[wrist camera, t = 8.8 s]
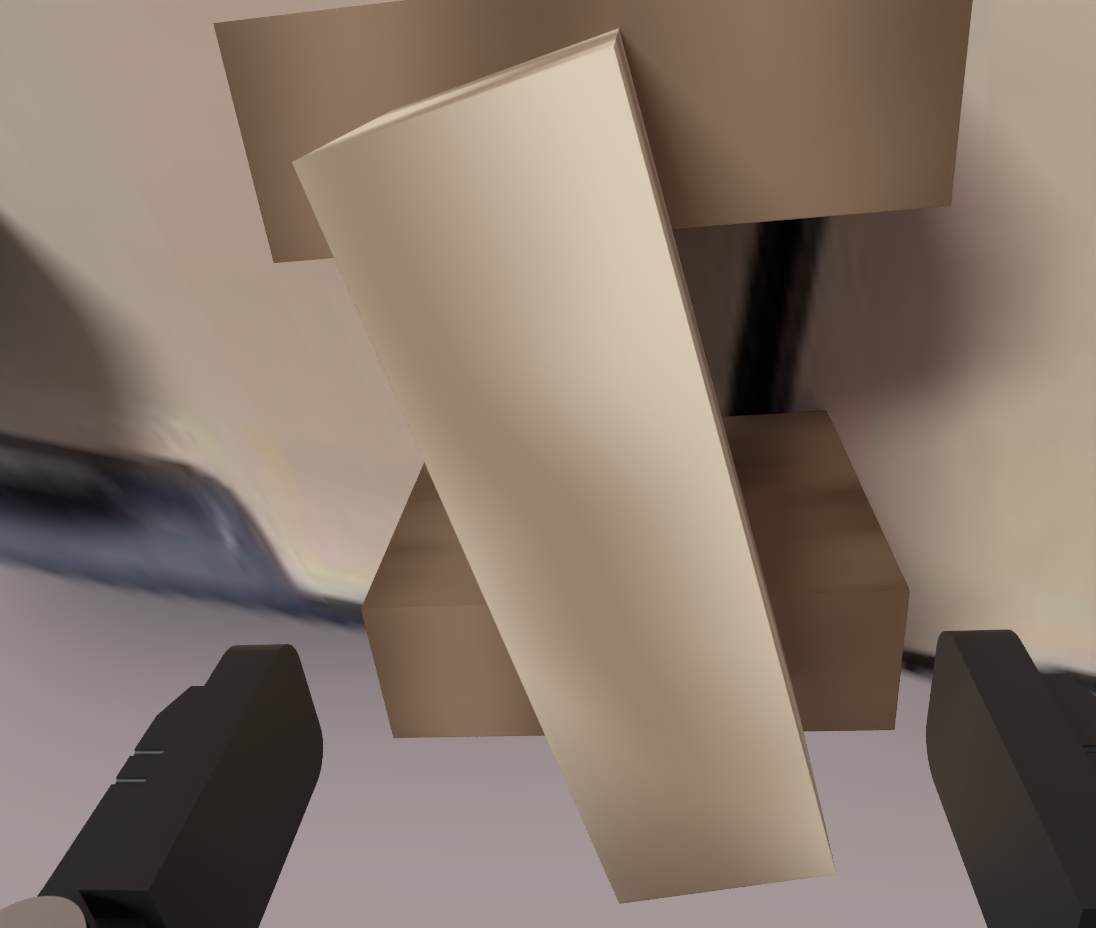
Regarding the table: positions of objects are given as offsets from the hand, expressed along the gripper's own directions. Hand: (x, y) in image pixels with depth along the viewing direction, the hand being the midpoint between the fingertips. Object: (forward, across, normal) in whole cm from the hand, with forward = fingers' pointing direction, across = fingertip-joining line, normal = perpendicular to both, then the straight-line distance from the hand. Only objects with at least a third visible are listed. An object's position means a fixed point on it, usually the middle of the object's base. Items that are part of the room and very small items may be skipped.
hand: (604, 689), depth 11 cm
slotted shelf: (+16, 0, 0) cm, 16 cm away
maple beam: (+7, 0, 0) cm, 7 cm away
